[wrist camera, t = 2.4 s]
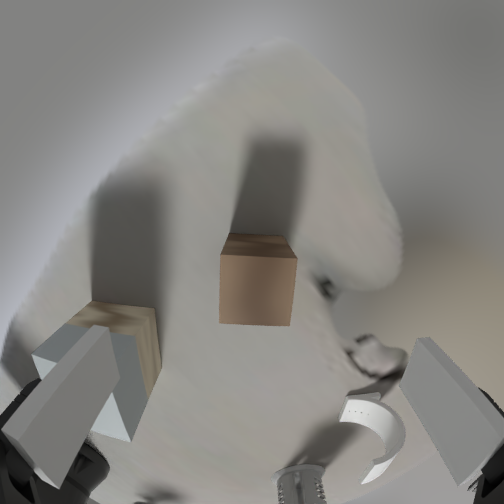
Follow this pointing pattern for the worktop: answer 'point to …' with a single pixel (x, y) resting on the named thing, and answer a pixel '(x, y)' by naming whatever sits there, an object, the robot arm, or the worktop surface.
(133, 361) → the grey block
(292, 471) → the french press
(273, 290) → the walnut block
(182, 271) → the worktop surface
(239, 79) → the worktop surface
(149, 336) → the beech block
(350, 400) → the white curved piece
